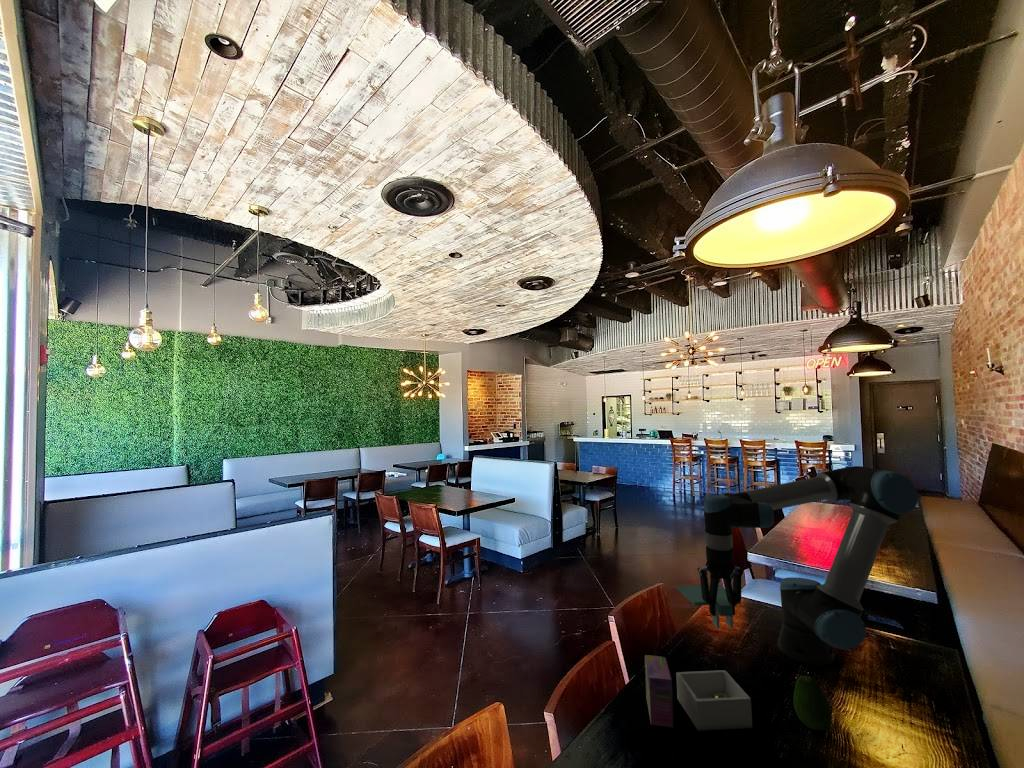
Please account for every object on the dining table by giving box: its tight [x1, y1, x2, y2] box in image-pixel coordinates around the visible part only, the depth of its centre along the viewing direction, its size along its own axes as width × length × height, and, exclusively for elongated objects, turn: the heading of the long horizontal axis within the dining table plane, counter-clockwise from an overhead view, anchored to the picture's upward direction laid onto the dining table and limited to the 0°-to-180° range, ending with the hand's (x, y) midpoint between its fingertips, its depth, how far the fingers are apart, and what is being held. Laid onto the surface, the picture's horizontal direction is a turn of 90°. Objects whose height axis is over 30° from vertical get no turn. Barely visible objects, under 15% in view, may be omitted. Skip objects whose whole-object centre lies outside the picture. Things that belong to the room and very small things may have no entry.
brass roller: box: [712, 693, 731, 698], centre depth 113 cm, size 4×3×3 cm
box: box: [644, 654, 674, 728], centre depth 112 cm, size 10×6×12 cm, turn 168°
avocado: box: [792, 675, 832, 731], centre depth 106 cm, size 8×8×12 cm
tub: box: [675, 669, 753, 732], centre depth 112 cm, size 14×12×7 cm
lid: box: [676, 584, 742, 617], centre depth 135 cm, size 15×18×3 cm
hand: (722, 625), depth 128 cm, fingers closed on lid, 3 cm apart
